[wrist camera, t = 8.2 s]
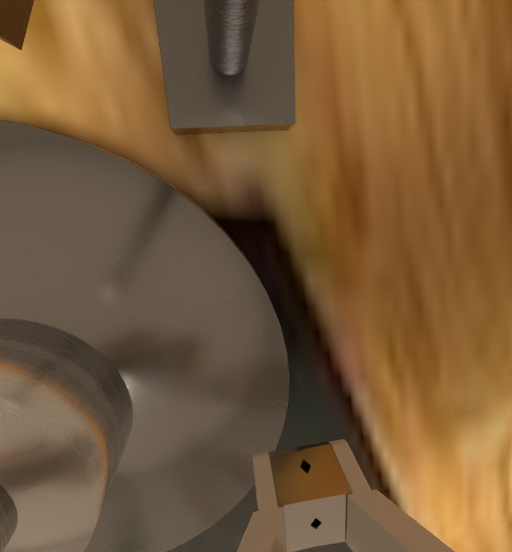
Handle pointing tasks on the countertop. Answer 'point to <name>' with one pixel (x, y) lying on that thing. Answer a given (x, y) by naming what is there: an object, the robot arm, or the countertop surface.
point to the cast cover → (56, 437)
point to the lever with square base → (213, 61)
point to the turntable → (146, 327)
